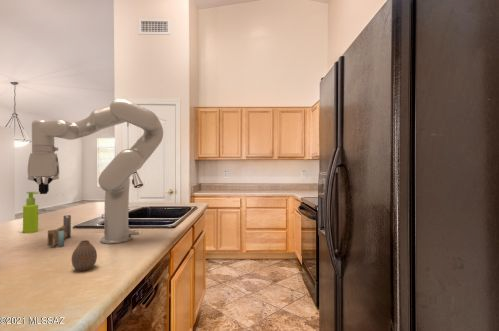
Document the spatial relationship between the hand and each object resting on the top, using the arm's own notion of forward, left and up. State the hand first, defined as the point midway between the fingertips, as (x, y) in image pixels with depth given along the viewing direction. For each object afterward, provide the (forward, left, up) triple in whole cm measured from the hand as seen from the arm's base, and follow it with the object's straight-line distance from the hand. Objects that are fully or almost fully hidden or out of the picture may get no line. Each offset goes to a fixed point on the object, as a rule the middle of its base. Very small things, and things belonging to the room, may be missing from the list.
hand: (43, 193), depth 114 cm
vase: (-23, +37, -21) cm, 49 cm away
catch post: (-8, +6, -21) cm, 23 cm away
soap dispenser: (+14, -27, -21) cm, 37 cm away
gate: (-6, +1, -20) cm, 21 cm away
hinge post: (-6, -9, -21) cm, 24 cm away
